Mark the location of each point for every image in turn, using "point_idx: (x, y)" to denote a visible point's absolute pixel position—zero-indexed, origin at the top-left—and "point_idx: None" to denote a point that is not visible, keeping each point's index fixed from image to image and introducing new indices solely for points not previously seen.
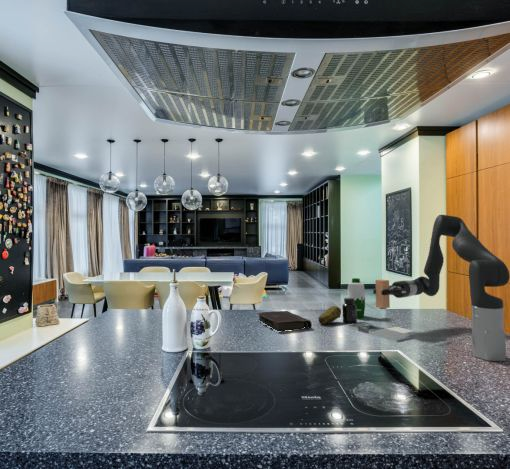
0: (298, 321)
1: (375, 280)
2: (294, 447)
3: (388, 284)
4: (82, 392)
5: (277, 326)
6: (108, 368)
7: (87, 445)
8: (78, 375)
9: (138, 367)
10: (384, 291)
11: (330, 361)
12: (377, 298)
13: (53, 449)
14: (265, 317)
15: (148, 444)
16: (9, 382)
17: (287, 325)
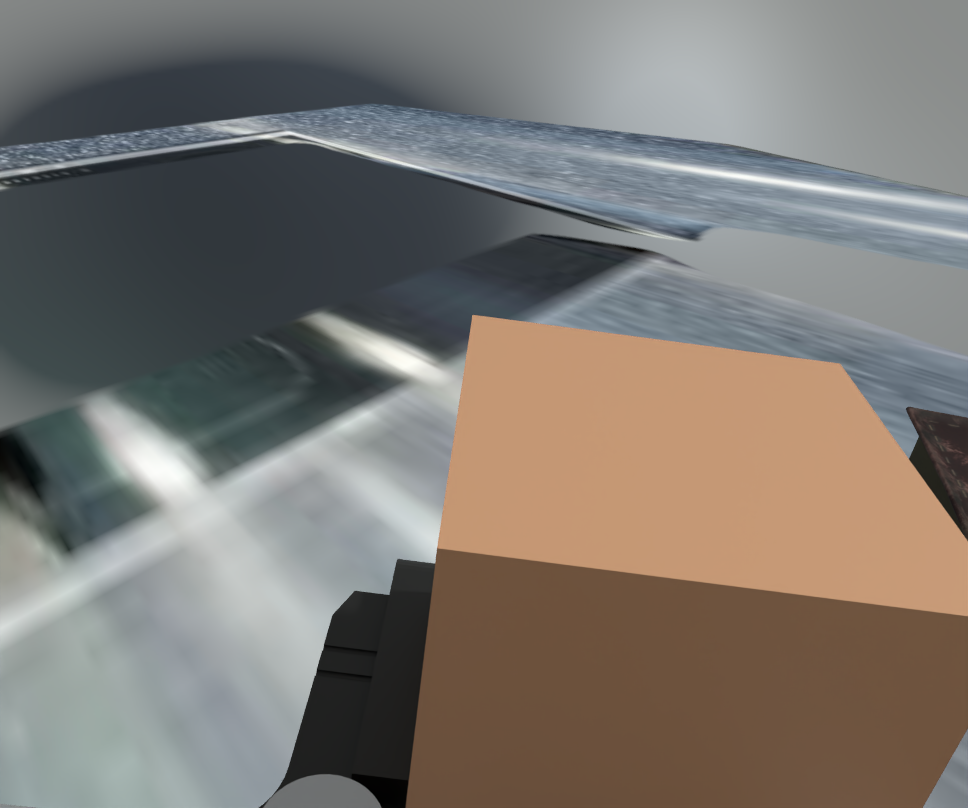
0: (956, 516)
1: (831, 377)
2: (30, 149)
3: (423, 702)
4: (510, 142)
5: (918, 446)
6: (629, 172)
7: (309, 114)
8: (611, 155)
9: (603, 185)
10: (356, 602)
11: (248, 348)
12: None
13: (331, 108)
14: None
15: (246, 123)
16: (630, 134)
17: (936, 488)
